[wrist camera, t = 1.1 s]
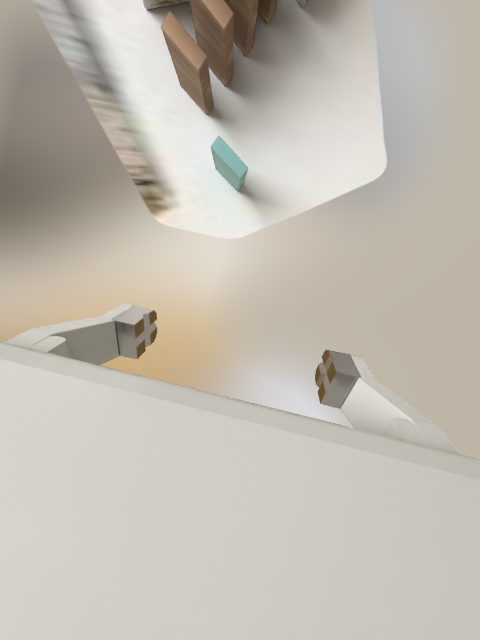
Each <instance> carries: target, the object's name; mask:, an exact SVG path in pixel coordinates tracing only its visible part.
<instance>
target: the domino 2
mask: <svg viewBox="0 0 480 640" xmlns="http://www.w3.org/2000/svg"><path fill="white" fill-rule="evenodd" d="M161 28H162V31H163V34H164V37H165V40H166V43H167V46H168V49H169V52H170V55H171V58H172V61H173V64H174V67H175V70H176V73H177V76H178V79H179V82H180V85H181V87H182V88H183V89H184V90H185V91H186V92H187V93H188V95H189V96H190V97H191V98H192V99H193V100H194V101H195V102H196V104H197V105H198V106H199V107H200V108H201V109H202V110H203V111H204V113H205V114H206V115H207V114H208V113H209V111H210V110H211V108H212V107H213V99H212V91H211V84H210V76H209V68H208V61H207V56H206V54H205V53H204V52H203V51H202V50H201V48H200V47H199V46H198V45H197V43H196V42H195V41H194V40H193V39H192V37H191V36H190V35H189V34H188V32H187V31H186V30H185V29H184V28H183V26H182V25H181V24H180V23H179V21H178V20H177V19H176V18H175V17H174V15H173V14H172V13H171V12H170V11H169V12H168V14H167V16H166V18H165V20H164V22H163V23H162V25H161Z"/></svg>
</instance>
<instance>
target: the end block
mask: <svg viewBox="0 0 480 640" xmlns="http://www.w3.org/2000/svg"><path fill="white" fill-rule="evenodd" d="M297 1H298V2H299V4H300V6H301V7H302V8H303V7H304V6H305V4H306V3H307V1H308V0H297Z"/></svg>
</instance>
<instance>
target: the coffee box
mask: <svg viewBox="0 0 480 640" xmlns="http://www.w3.org/2000/svg"><path fill="white" fill-rule="evenodd" d="M189 1H190V0H143V3H144V6H145V8H146V9H152V8H157V7H163V6H167V5H173V4H178V3H183V2H189Z"/></svg>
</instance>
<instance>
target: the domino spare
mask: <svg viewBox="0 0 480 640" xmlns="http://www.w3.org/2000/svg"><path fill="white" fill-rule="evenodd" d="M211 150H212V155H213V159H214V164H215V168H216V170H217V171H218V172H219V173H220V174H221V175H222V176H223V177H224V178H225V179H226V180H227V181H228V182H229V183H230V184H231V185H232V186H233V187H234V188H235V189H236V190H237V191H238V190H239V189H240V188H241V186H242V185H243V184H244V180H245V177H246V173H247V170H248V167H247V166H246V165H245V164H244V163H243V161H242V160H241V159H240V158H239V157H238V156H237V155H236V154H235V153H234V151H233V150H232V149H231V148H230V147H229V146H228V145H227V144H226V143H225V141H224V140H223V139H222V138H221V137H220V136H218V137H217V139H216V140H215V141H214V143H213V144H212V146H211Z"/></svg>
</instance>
